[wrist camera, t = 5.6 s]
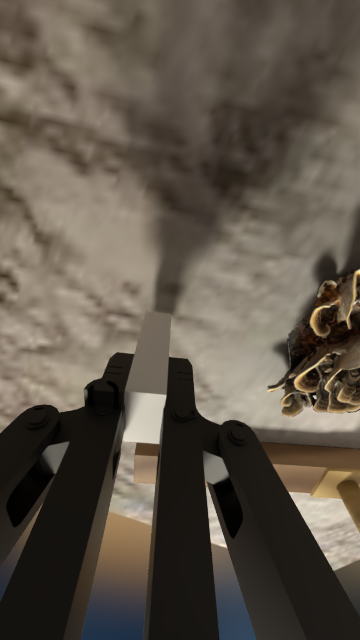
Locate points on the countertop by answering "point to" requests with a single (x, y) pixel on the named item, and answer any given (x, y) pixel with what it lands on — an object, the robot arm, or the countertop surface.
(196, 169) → the countertop surface
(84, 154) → the countertop surface
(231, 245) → the countertop surface
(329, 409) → the mushroom
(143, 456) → the beam plank
